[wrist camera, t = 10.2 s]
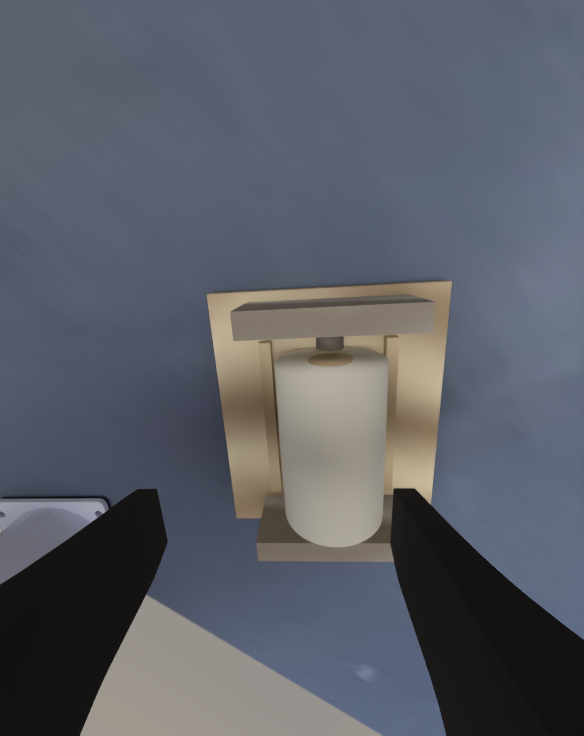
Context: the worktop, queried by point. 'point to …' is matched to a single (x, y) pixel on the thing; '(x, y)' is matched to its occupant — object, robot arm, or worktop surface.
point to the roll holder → (327, 333)
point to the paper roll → (333, 442)
